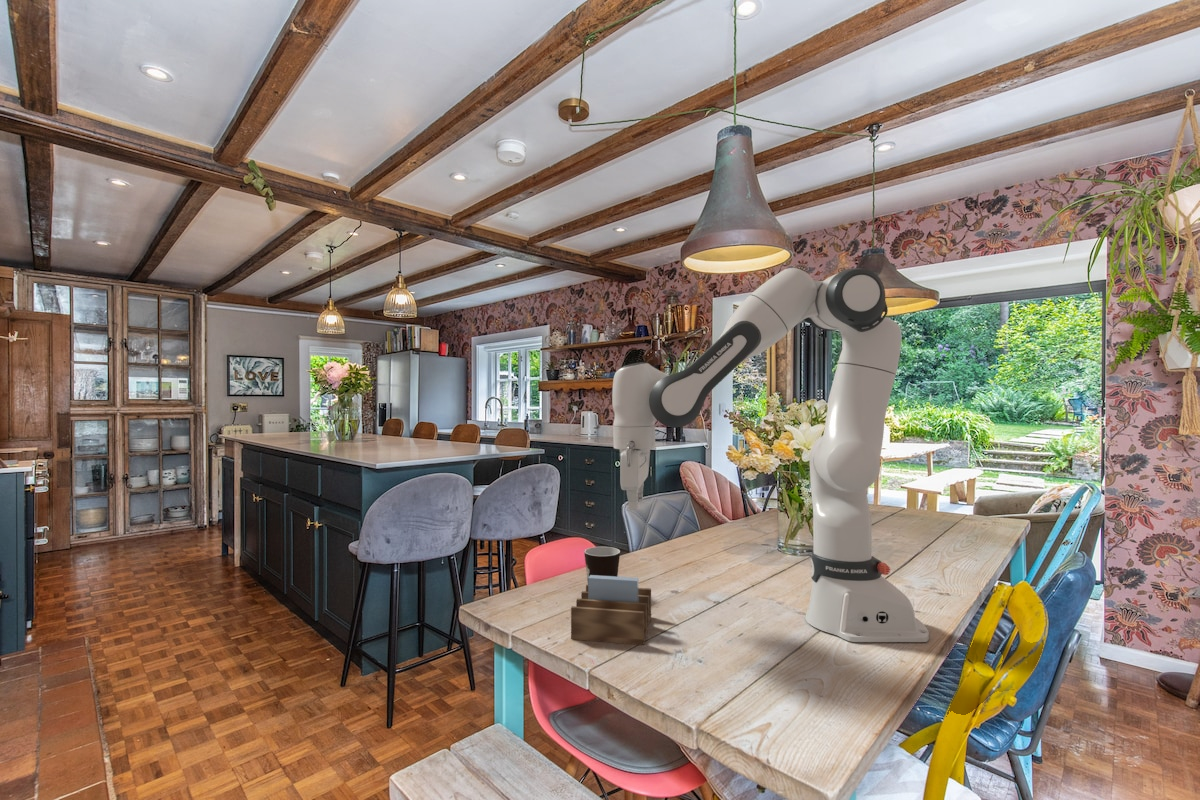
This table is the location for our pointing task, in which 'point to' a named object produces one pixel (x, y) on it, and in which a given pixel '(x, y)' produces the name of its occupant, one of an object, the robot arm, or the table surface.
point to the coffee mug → (602, 561)
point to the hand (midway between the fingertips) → (636, 505)
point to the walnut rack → (611, 619)
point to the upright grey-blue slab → (613, 588)
